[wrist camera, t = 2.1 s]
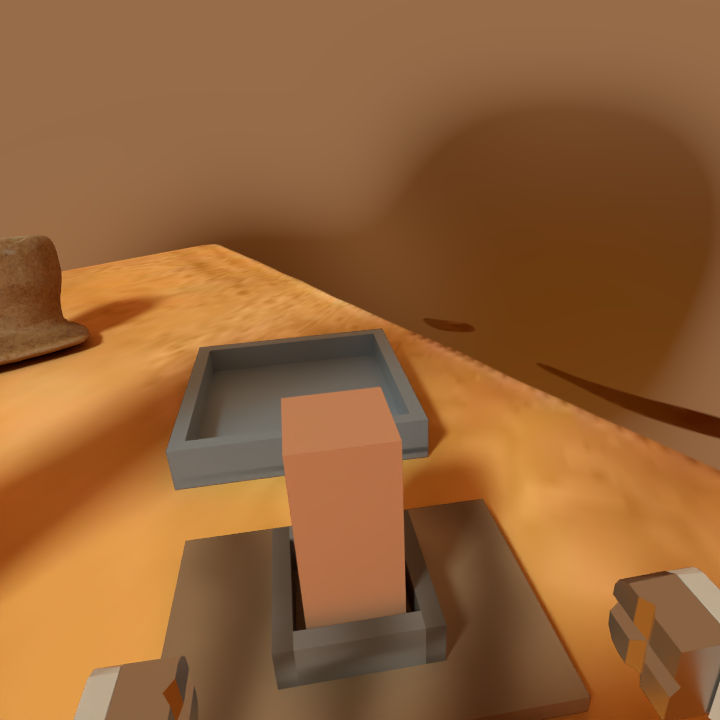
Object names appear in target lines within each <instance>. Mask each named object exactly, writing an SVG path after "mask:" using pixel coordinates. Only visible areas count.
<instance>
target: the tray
mask: <svg viewBox="0 0 720 720" xmlns="http://www.w3.org/2000/svg"><path fill="white" fill-rule="evenodd" d="M374 387H381V389H382V391H383V394H384V397H385V399H386V402H387V404H388V407H389V409H390V412H391V414H392V417H393V420H394V422H395V425H396V427H397V430H398V432H399V435H400V437H401V440H402V460H406V459H413V458H421V457H428V418H427V416H426V414H425V412H424V410H423V408H422V406H421V404H420V402H419V400H418V398H417V396H416V394H415V392H414V391H413V389H412V387H411V385H410V383H409V381H408V379H407V377H406V375H405V373H404V371H403V369H402V367H401V365H400V363H399V361H398V359H397V357H396V355H395V353H394V351H393V349H392V347H391V345H390V343H389V341H388V339H387V337H386V335H385V333H384V331H383V329H372V330H363V331H353V332H344V333H334V334H324V335H315V336H305V337H296V338H286V339H276V340H267V341H257V342H248V343H238V344H228V345H219V346H209V347H200V348H199V351H198V354H197V357H196V361H195V364H194V367H193V370H192V373H191V376H190V379H189V382H188V385H187V388H186V391H185V394H184V397H183V401H182V404H181V407H180V410H179V413H178V416H177V419H176V422H175V425H174V428H173V431H172V434H171V437H170V441H169V444H168V447H167V450H166V455H167V459H168V463H169V467H170V471H171V475H172V479H173V483H174V487H175V490H178V489H185V488H193V487H200V486H208V485H216V484H223V483H231V482H238V481H246V480H254V479H261V478H269V477H276V476H284V475H285V471H284V464H283V457H282V417H281V398H288V397H296V396H305V395H313V394H322V393H331V392H339V391H348V390H357V389H365V388H374Z"/></svg>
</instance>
